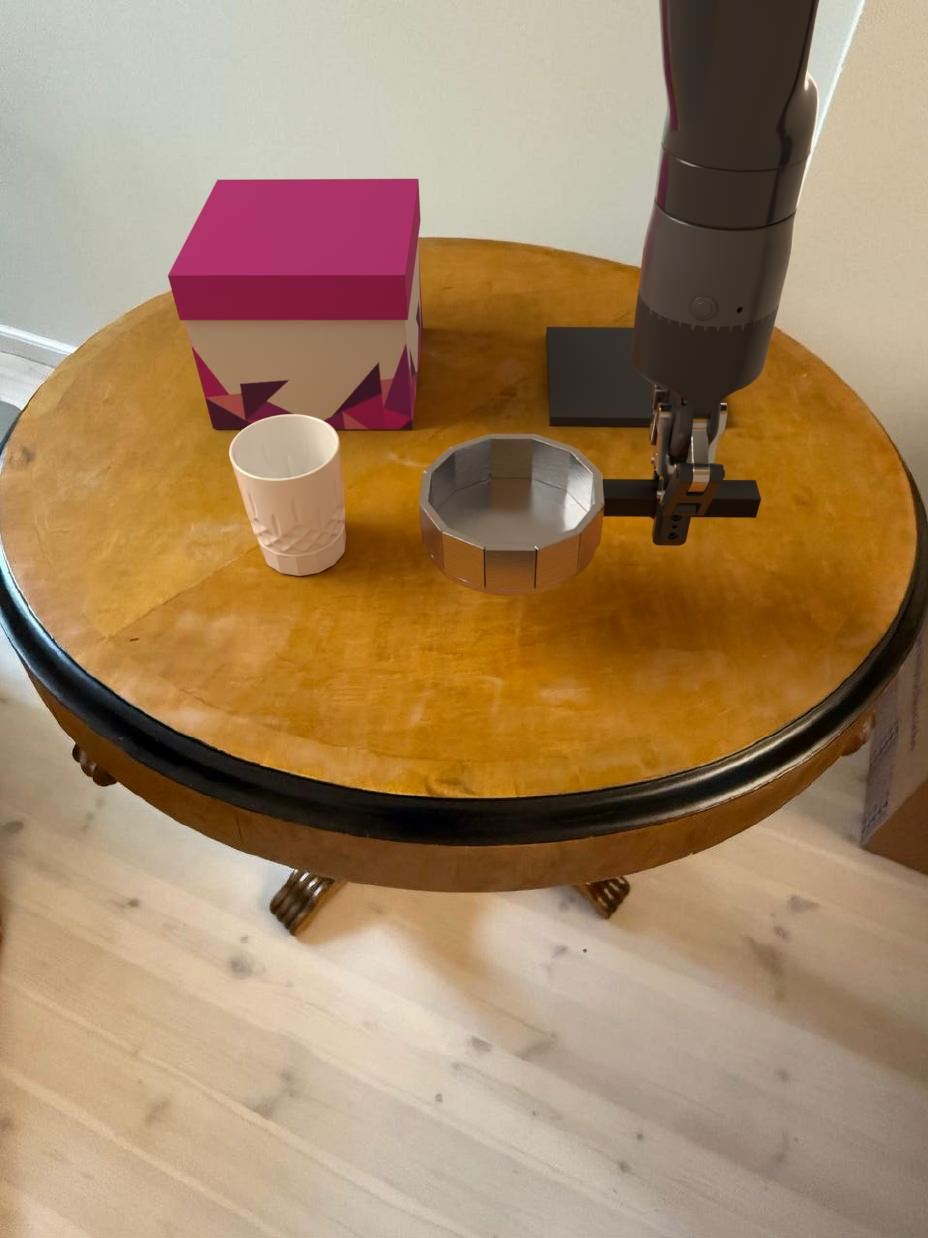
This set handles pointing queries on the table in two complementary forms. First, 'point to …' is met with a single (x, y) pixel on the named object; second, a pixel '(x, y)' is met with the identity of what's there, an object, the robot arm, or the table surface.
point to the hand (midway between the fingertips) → (665, 527)
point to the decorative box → (305, 300)
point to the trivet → (595, 378)
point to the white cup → (292, 491)
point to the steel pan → (533, 511)
